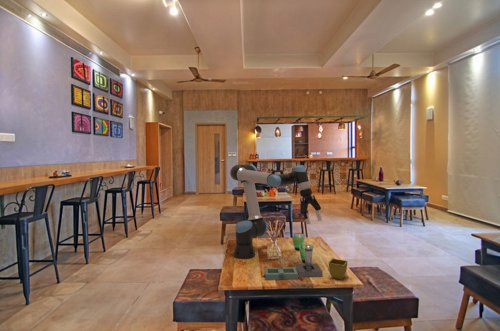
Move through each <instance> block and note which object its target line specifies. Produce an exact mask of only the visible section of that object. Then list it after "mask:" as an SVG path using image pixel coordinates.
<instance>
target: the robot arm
mask: <svg viewBox="0 0 500 331" xmlns="http://www.w3.org/2000/svg"><path fill="white" fill-rule="evenodd" d="M229 173H230V177H231V178H232V180H233V181H238V182H240V184H241V185H242V186H243V190H244V197H245V201H246V208H247V213H248V218H247V220H242V221H239V222H237V223H236V224H235V248H234V250H233V257H234V258H235V259H242V260H243V259H244V260H247V259H248V260H249V259H252V258H254V257H255V256H256V251H255V247H254V245H253V239H255V238H258V237H262V236H264V235H266V234H267V232H268V230H269V225H268V222H267V221H266V219H264V217H263V216H262V215H261V210H260V206H259V199H258V194H257V190H256V185H255V184H256V183H257V184H262V185H268V186H269V187H271V188H273V187H274V188H277V187H288V186H291V185H293V184H296V183H297V187H298V191H299V194H300V198H299V201H300V203H299V204H300V210H299V212H300V214H301V215H303V217H304V220H305V224H306V225H311V224H312V223H311V219H310V216H309V213H308V208H309V205H311V206H312V208H314V210H315V211H314V212H315V215H316V218H317V221H318V222H319V221H323V218H322V217H323V216H322V214H321V209H322V207H321V205H320V204H319V202H318V200H317V198H316V197H315V194H314V195H312V194H313V190H312V188H311V184H310V181H309V177H308V173H307V170H306V167H305V165H303V164H301V165H296V166H294V167H293V168H292V171H291V172H288V173H280V174H277V173H276V174H275V173H269V172H264V171H259V170H258V169H257V167H256V166H255V165H253V164H249V163H247V164H235V165H233V166H232V168H230V172H229Z"/></svg>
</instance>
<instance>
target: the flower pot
mask: <svg viewBox="0 0 500 331" xmlns="http://www.w3.org/2000/svg"><path fill="white" fill-rule="evenodd" d="M327 265H328V271H329V274H330V276H331V278H333V279H336V280H342V279H343V278H344V277H345V275H346V273H347V269H348V260H344V259H337V258H331V259H330V260H329V262H328V263H327Z"/></svg>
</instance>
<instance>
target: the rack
mask: <svg viewBox="0 0 500 331" xmlns="http://www.w3.org/2000/svg"><path fill="white" fill-rule="evenodd" d="M264 277H265V280H266V281H273V280H274V281H277V280H283V281H284V280H298V279H299V275H298V272H297V270H296V266H294V267H291V266H290V267H265V268H264Z"/></svg>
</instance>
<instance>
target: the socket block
mask: <svg viewBox="0 0 500 331" xmlns="http://www.w3.org/2000/svg"><path fill="white" fill-rule="evenodd" d="M295 269H296V271H297V273H298V278H323V270H322V269H321V267H320V266H319V265H318V263H312V269H311V270H305V263H295Z"/></svg>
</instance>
